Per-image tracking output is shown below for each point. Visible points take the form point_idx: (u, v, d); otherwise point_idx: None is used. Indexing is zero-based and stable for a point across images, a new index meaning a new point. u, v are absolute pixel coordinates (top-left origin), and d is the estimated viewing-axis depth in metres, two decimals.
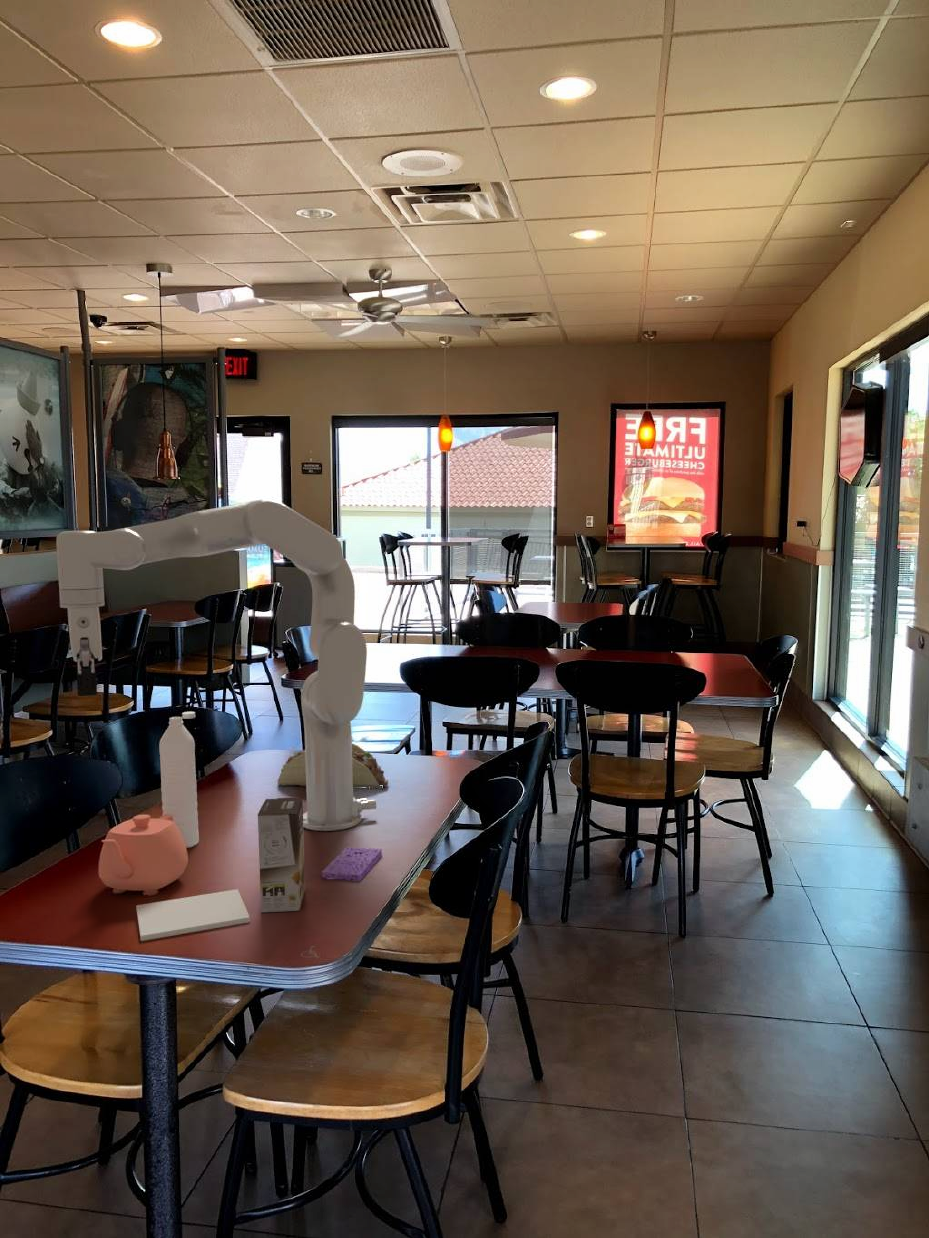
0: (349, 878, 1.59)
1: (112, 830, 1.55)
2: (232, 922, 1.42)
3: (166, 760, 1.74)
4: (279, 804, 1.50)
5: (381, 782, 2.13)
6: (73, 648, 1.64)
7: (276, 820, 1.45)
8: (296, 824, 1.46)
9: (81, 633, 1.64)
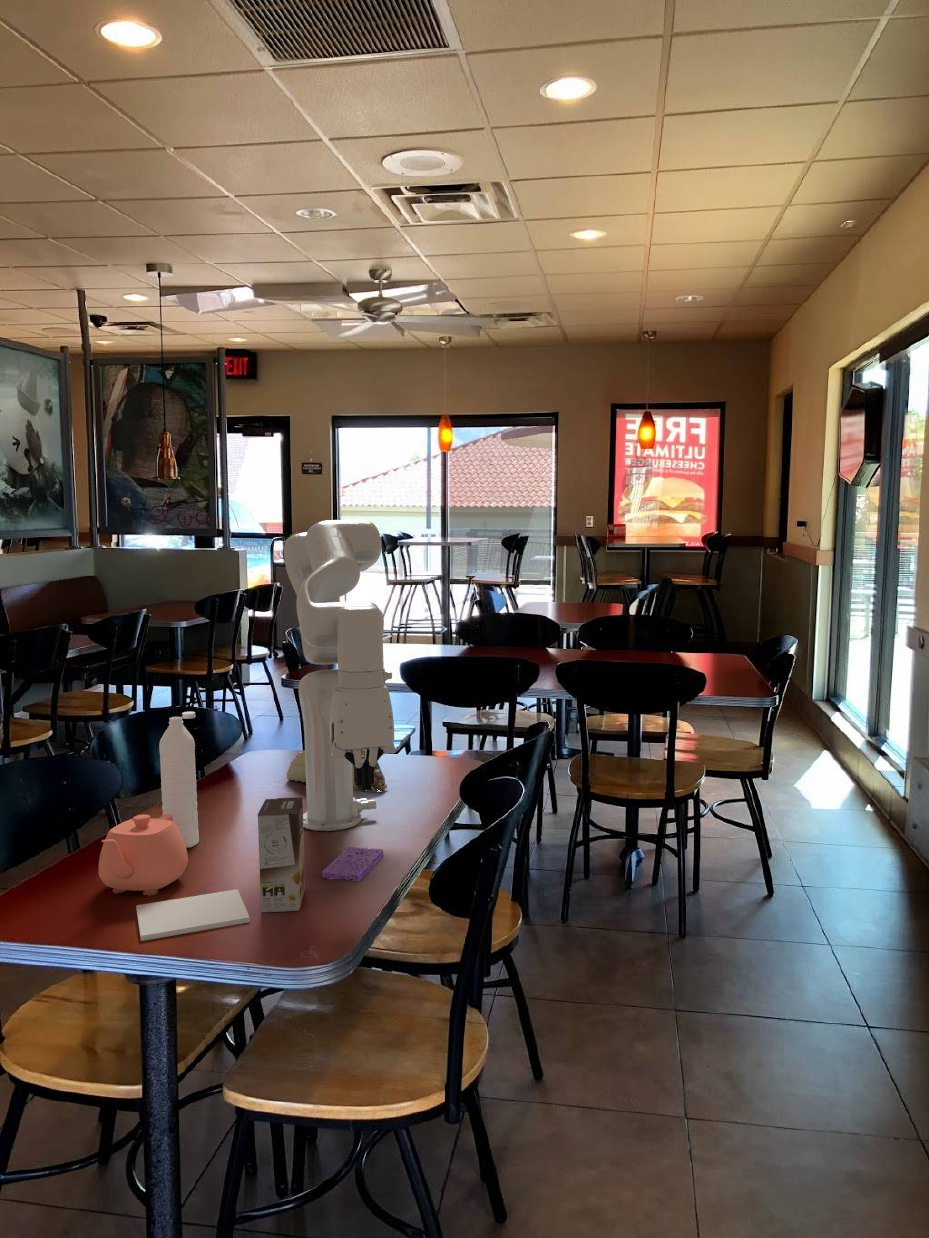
0: (349, 878, 1.59)
1: (112, 830, 1.55)
2: (232, 922, 1.42)
3: (166, 760, 1.74)
4: (279, 804, 1.50)
5: (376, 786, 2.10)
6: (393, 730, 1.53)
7: (276, 820, 1.45)
8: (296, 824, 1.46)
9: None
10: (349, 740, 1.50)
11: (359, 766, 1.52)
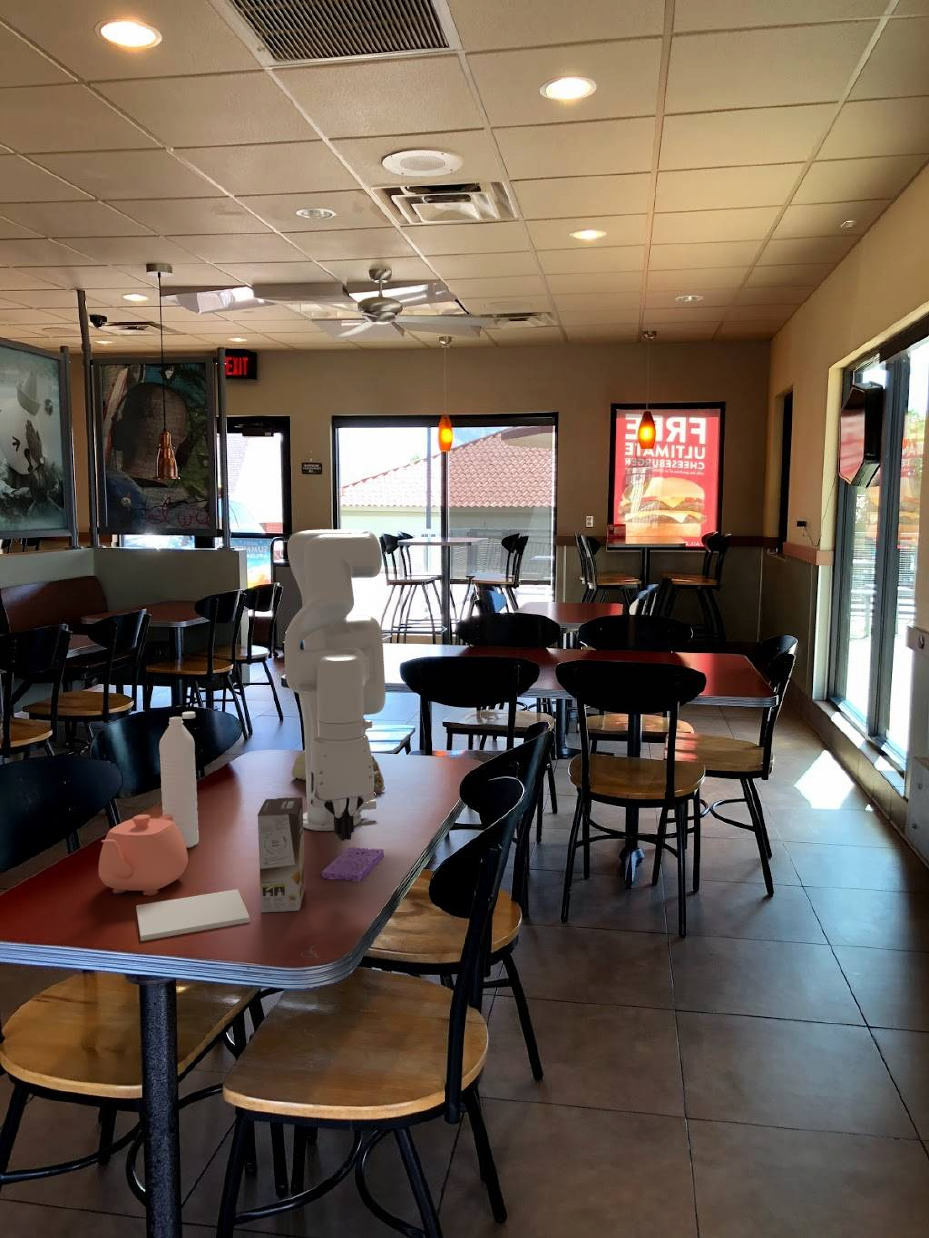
0: (349, 878, 1.59)
1: (112, 830, 1.55)
2: (232, 922, 1.42)
3: (166, 760, 1.74)
4: (279, 804, 1.50)
5: None
6: (373, 779, 1.53)
7: (276, 820, 1.45)
8: (296, 824, 1.46)
9: None
10: (329, 791, 1.50)
11: (339, 816, 1.52)
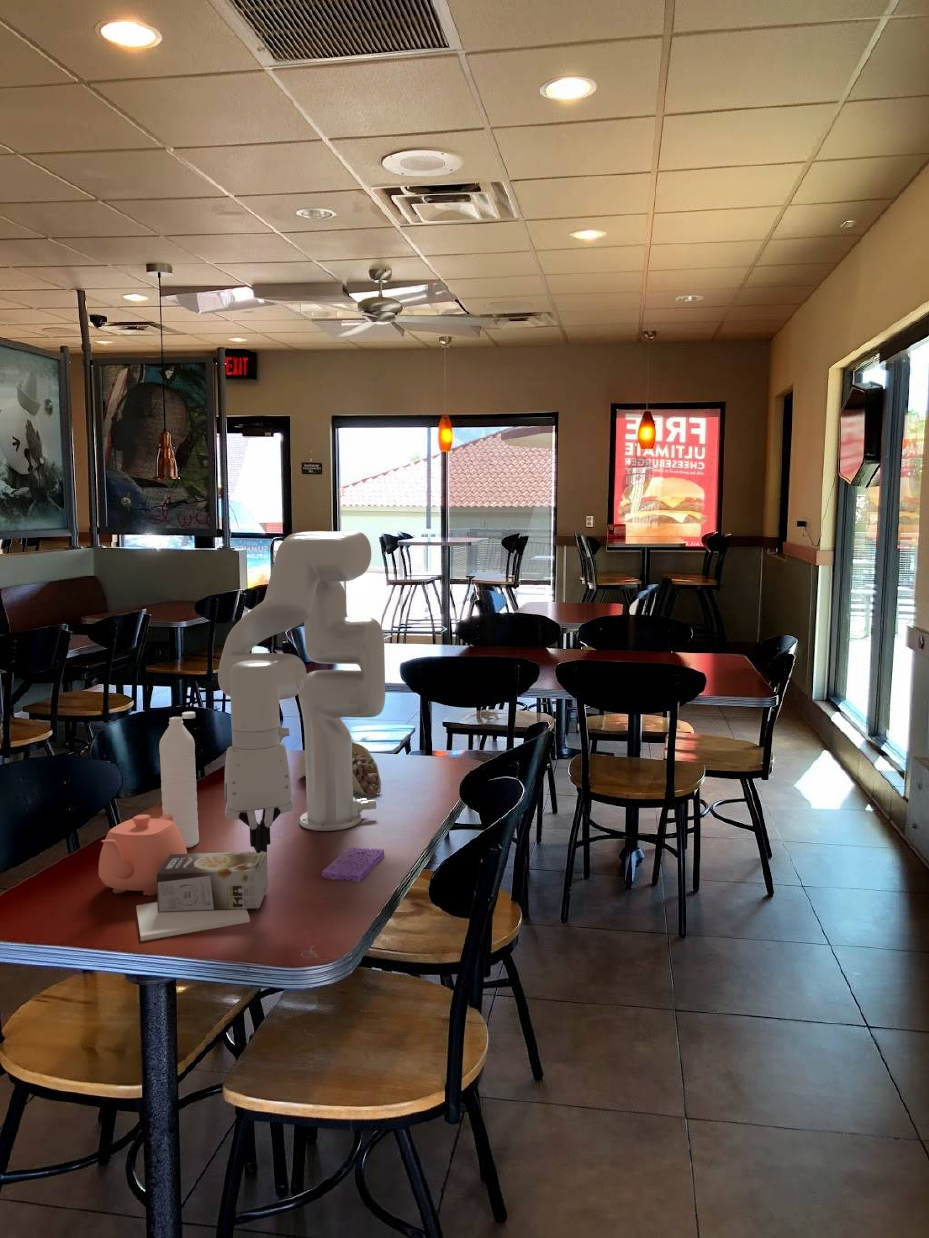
0: (349, 878, 1.59)
1: (112, 830, 1.55)
2: (232, 922, 1.42)
3: (167, 760, 1.74)
4: None
5: (366, 790, 2.07)
6: (290, 789, 1.48)
7: (163, 893, 1.45)
8: (168, 874, 1.45)
9: None
10: (242, 801, 1.45)
11: (254, 827, 1.47)
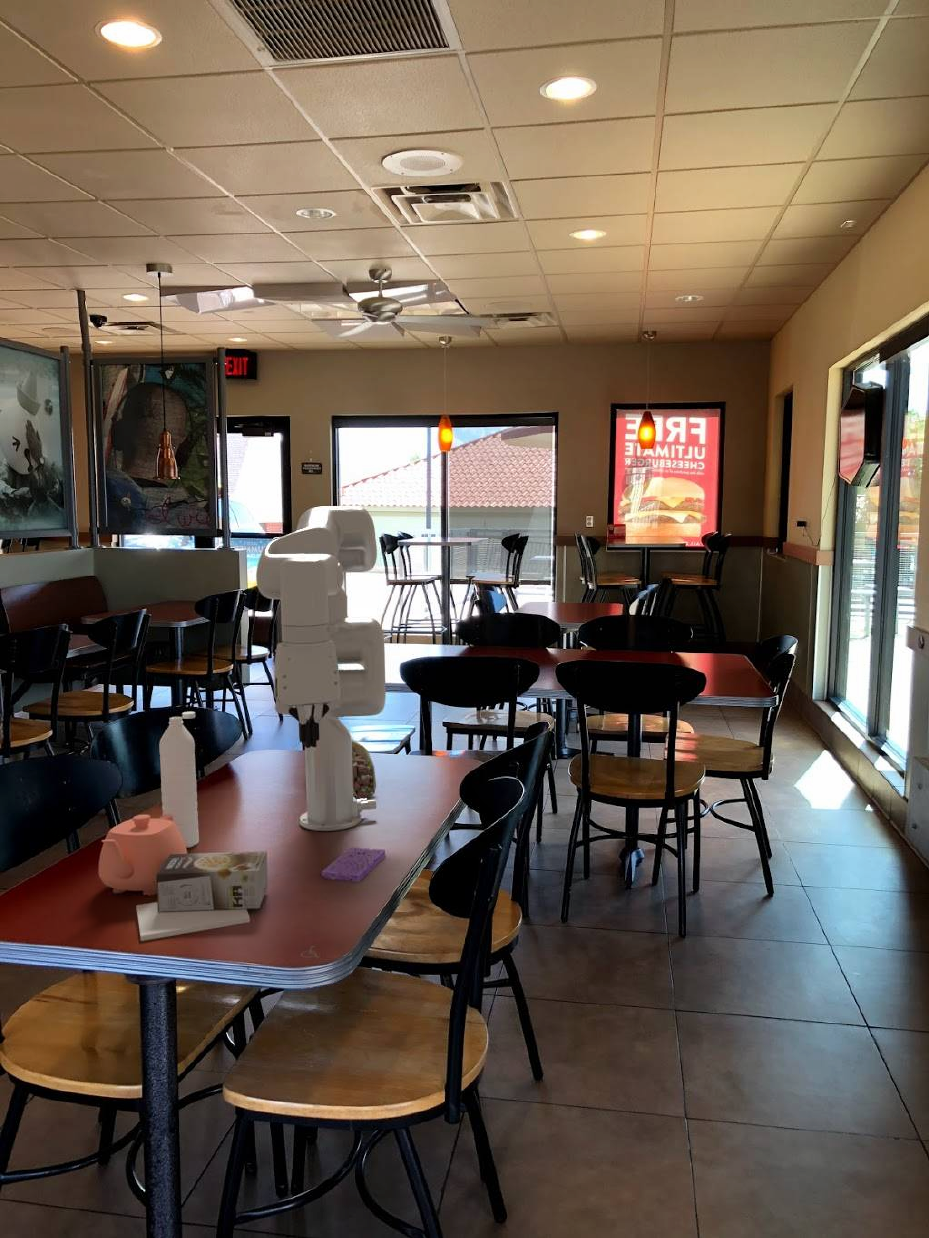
0: (349, 878, 1.59)
1: (112, 830, 1.55)
2: (232, 922, 1.42)
3: (167, 760, 1.74)
4: None
5: (358, 792, 2.05)
6: (339, 686, 1.50)
7: (163, 894, 1.45)
8: (168, 874, 1.45)
9: None
10: (292, 696, 1.47)
11: (303, 722, 1.49)
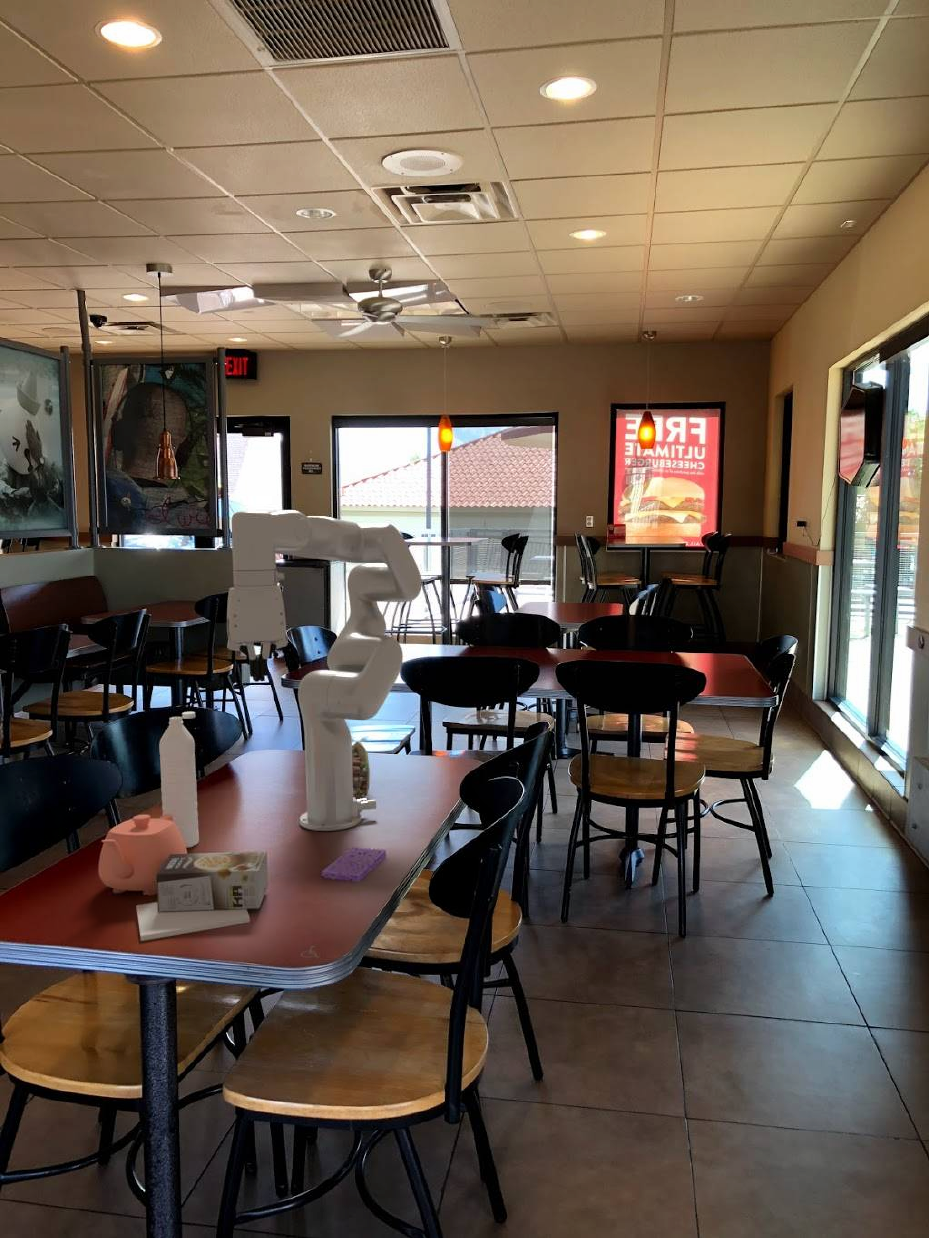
0: (348, 878, 1.59)
1: (112, 830, 1.55)
2: (232, 922, 1.42)
3: (166, 760, 1.74)
4: None
5: None
6: (285, 626, 1.67)
7: (163, 894, 1.45)
8: (168, 874, 1.45)
9: None
10: (242, 633, 1.64)
11: (253, 658, 1.66)
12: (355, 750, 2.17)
